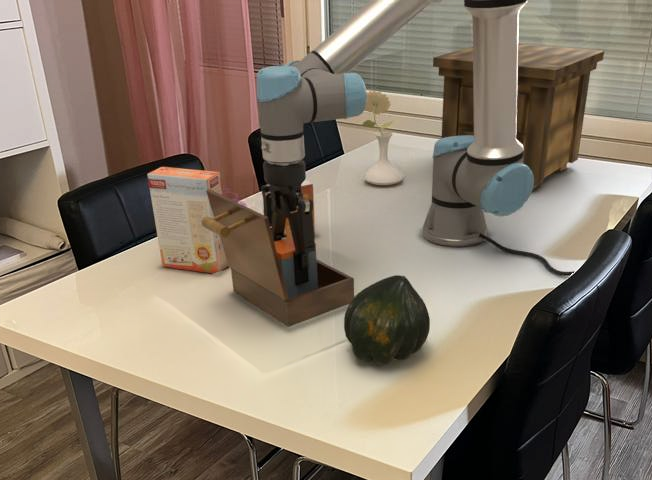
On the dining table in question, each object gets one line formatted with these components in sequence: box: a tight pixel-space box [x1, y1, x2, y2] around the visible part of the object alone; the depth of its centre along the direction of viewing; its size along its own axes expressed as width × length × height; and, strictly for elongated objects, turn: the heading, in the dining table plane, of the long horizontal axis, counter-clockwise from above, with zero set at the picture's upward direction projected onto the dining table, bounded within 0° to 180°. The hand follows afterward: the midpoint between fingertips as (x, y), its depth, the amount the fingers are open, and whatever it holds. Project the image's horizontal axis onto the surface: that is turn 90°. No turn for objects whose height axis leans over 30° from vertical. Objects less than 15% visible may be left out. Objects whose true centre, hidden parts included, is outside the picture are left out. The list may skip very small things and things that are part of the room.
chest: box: [230, 259, 355, 327], centre depth 142 cm, size 16×20×6 cm
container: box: [274, 237, 318, 300], centre depth 141 cm, size 8×6×11 cm
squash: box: [343, 274, 431, 365], centre depth 123 cm, size 14×15×15 cm
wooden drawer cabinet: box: [432, 43, 605, 191], centre depth 207 cm, size 35×35×33 cm
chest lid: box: [202, 189, 288, 301], centre depth 130 cm, size 16×20×6 cm
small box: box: [282, 179, 316, 239], centre depth 169 cm, size 8×6×13 cm
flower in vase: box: [361, 90, 404, 186], centre depth 201 cm, size 13×11×25 cm
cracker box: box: [146, 166, 229, 275], centre depth 153 cm, size 14×6×21 cm, turn 71°
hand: (291, 277), depth 141 cm, fingers closed on container, 6 cm apart
